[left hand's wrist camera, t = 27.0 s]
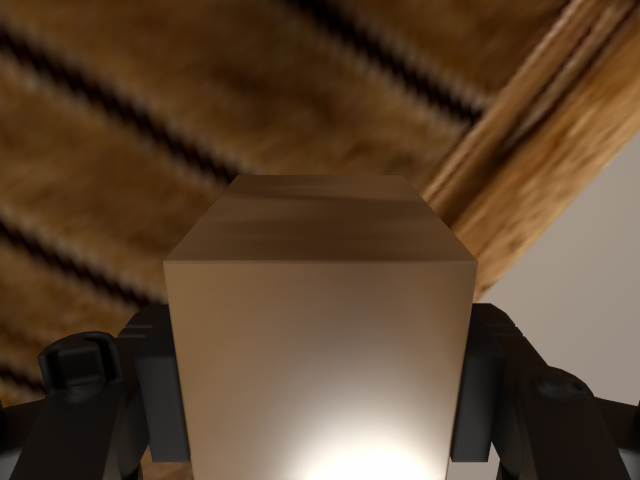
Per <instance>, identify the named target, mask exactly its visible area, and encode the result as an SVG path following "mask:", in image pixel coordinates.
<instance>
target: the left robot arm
mask: <svg viewBox="0 0 640 480" xmlns="http://www.w3.org/2000/svg"><path fill="white" fill-rule="evenodd" d="M37 358H38V362H39V365H40V369H41V372H42V376H43V379H44V383H45V386H46V390H47V393H48V394H47V396H46V398H45V399H42V400H38V401H34V402H29V403H25V404H20V405H15V406H10V407H6V408H3V406H2V403H1V400H0V480H143V474H142V467H141V463H140V460H141V458H142V456H143V454H144V452H145V450H146V448H147V446H148V444H149V445H150V451H151V456H152V461H153V462H188V461H189V458H190V448H189V441H188V434H187V427H186V421H185V414H184V407H183V400H182V393H181V386H180V379H179V372H178V365H177V358H176V351H175V345H174V338H173V331H172V324H171V317H170V310H169V303H168V305H149V306H147V307H145V308H144V309H142V310H141V311H139V312H138V313H136V314H134V316H133V317H132V318H131V319H130V321H129V322H128V323H127V325H126V326H125V328H123V330H122V331H121V332H120V333H119V335H118V338H114V337H113V336H112V335H111V334H109V333H105V332H100V331H92V332H82V333H78V334H74V335H70V336H67V337H65V338H62V339H60V340H58V341H56V342H54V343H52V344H51V345H49V346H48V347H46V348H45V349H44V350H43V351H42V352H41V353H40V354H39V355H38V357H37ZM491 441H492V443H493V445H494V447H495V449H496V451H497V454H498V456H499V458H500V463H499V468H498V472H497V477H496V480H640V401H639V404H638V406H634V405H629V404H624V403H619V402H615V401H610V400H605V399H601V398H598V397H594V395H593V393H592V392H591V390H590V389H589V388H588V386H587V385H586V384H585V383H584V382H583V381H581V380H580V379H579V378H577V377H576V376H575V375H572V374H570V373H568V372H566V371H564V370H562V369H559V368H555V367H551V366H548V365H547V364H546V362H545V361H544V360H543V359H542V357H541V356H540V355H539V354H538V352H537V351H536V350H535V349H534V347H533V346H532V345H531V344H530V342H529V341H528V340H527V339H526V337H524V336H523V334H522V332H521V331H520V330H519V329H518V327H515V324H514V322H513V321H512V320H511V319H510V317H509V316H508V315H507V314H506V313H505V312H503V311H502V310H500V309H499V308H497V307H496V306H494V305H492V304H491V303H472V309H471V316H470V323H469V329H468V336H467V343H466V350H465V356H464V363H463V370H462V377H461V384H460V390H459V397H458V404H457V411H456V418H455V424H454V431H453V438H452V445H451V451H450V457H451V460H452V462H488V457H489V452H490V447H491Z"/></svg>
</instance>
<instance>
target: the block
mask: <svg viewBox="0 0 640 480" xmlns="http://www.w3.org/2000/svg"><path fill="white" fill-rule="evenodd" d="M163 268H164V275H165V282H166V289H167V296H168V303H169V310H170V317H171V324H172V331H173V338H174V345H175V351H176V358H177V365H178V372H179V379H180V386H181V393H182V400H183V407H184V414H185V421H186V427H187V434H188V441H189V448H190V455H191V462H192V469H193V476H194V480H446V479H447V472H448V465H449V458H450V451H451V445H452V438H453V431H454V424H455V418H456V411H457V404H458V397H459V390H460V384H461V377H462V370H463V363H464V356H465V350H466V343H467V336H468V329H469V323H470V316H471V309H472V302H473V295H474V289H475V282H476V275H477V268H478V261H477V260H476V258H475V257H474V256H473V255H472V254H471V253H470V252H469V251H468V249H467V248H466V247H465V246H464V245H463V244H462V243H461V241H460V240H459V239H458V238H457V237H456V236H455V235H454V233H453V232H452V231H451V230H450V229H449V228H448V227H447V226H446V224H445V223H444V222H443V221H442V220H441V219H440V218H439V216H438V215H437V214H436V213H435V212H434V211H433V210H432V209H431V207H430V206H429V205H428V204H427V203H426V202H425V201H424V199H423V198H422V197H421V196H420V195H419V194H418V193H417V192H416V190H415V189H414V188H413V187H412V186H411V185H410V184H409V182H408V181H407V180H406V179H405V178H404V177H403V176H402V175H238V176H237V177H236V178H235V179H234V180H233V182H232V183H231V184H230V185H229V186H228V187H227V188H226V190H225V191H224V192H223V193H222V194H221V195H220V196H219V198H218V199H217V200H216V201H215V202H214V203H213V204H212V206H211V207H210V208H209V209H208V210H207V211H206V212H205V214H204V215H203V216H202V217H201V218H200V219H199V220H198V222H197V223H196V224H195V225H194V226H193V227H192V228H191V230H190V231H189V232H188V233H187V234H186V235H185V236H184V238H183V239H182V240H181V241H180V242H179V243H178V245H177V246H176V247H175V248H174V249H173V250H172V251H171V253H170V254H169V255H168V256H167V257H166V258H165V259H164V261H163Z"/></svg>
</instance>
